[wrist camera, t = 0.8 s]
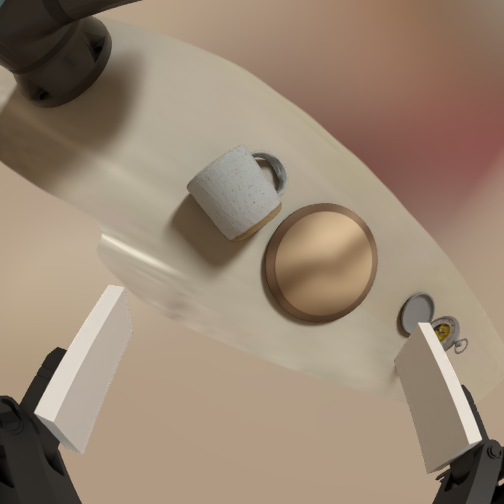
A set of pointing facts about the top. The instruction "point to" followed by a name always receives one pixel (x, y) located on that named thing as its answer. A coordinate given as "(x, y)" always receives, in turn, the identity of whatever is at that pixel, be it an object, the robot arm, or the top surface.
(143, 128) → the top surface
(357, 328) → the top surface
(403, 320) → the pocket watch
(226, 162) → the ceramic mug
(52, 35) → the robot arm
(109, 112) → the top surface
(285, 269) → the brown round plate
